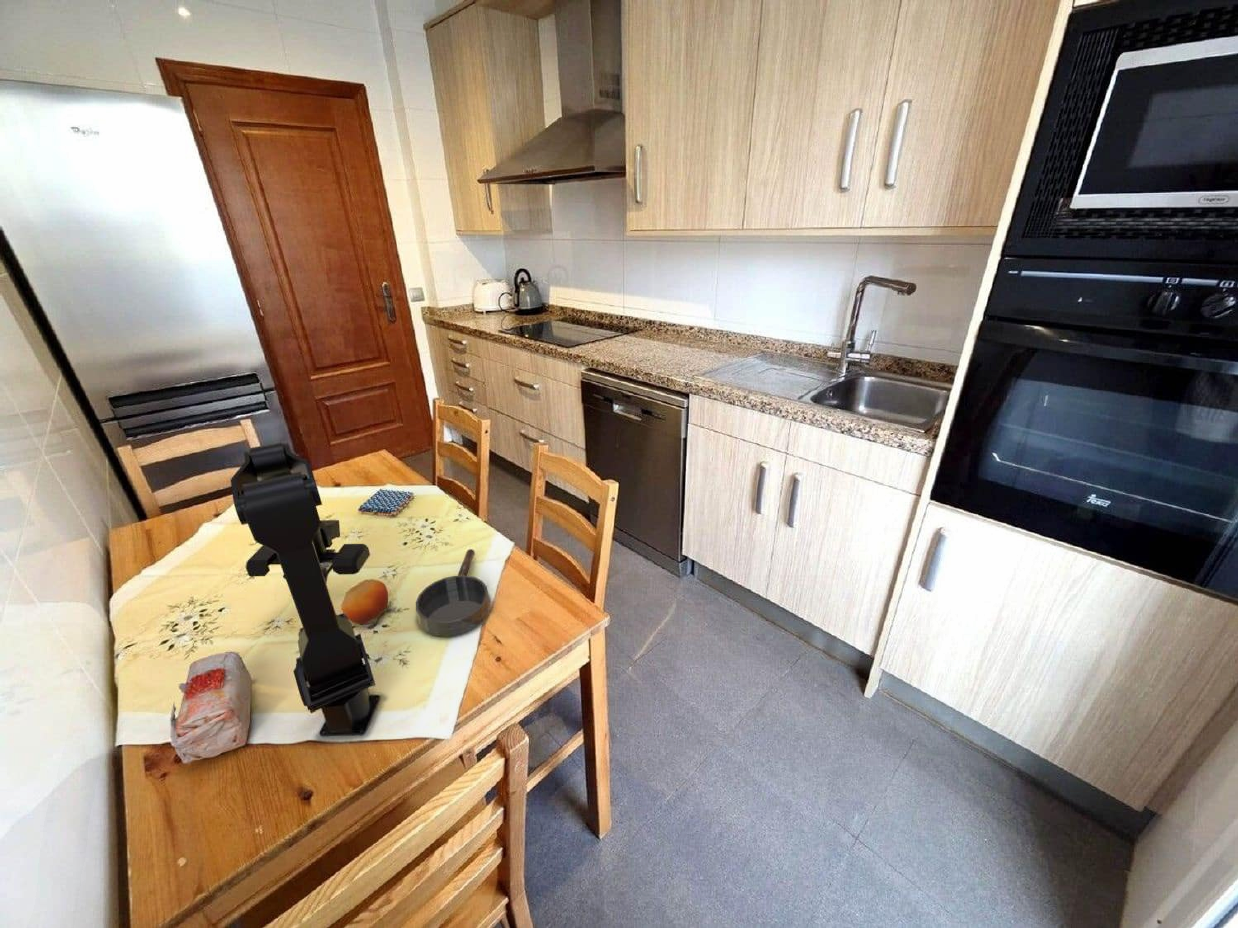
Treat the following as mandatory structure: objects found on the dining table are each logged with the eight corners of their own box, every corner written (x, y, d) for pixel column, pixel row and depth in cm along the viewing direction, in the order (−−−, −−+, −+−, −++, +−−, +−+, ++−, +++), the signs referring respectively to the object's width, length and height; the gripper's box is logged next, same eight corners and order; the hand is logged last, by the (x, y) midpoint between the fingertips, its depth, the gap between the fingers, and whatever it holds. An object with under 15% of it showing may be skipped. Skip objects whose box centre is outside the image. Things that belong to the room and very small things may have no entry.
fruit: (382, 628, 90) (353, 595, 87) (354, 639, 93) (325, 607, 90) (408, 598, 97) (382, 566, 95) (381, 609, 100) (354, 579, 98)
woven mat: (416, 497, 134) (415, 490, 133) (395, 518, 125) (393, 511, 124) (380, 493, 136) (379, 487, 135) (356, 514, 126) (355, 507, 125)
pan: (482, 636, 90) (480, 621, 89) (409, 638, 90) (405, 623, 88) (495, 588, 102) (493, 574, 100) (430, 589, 101) (427, 576, 100)
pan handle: (465, 583, 100) (464, 576, 100) (456, 583, 100) (455, 576, 100) (476, 554, 109) (475, 547, 108) (467, 554, 109) (466, 547, 108)
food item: (255, 748, 71) (231, 700, 67) (184, 777, 67) (154, 729, 63) (257, 679, 81) (238, 634, 77) (196, 701, 78) (171, 655, 73)
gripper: (372, 500, 93) (388, 567, 100) (269, 502, 92) (292, 569, 99) (346, 534, 83) (366, 606, 90) (230, 536, 82) (259, 609, 89)
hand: (321, 596), depth 93 cm, fingers closed
